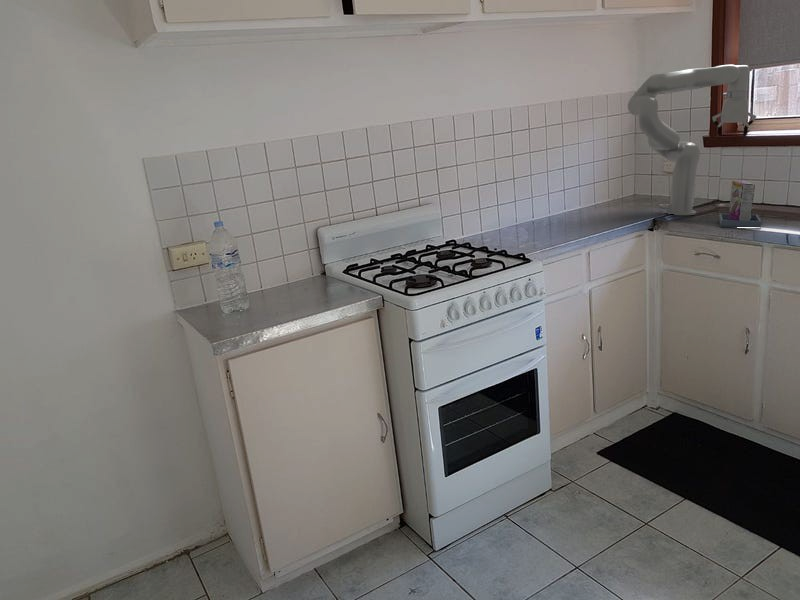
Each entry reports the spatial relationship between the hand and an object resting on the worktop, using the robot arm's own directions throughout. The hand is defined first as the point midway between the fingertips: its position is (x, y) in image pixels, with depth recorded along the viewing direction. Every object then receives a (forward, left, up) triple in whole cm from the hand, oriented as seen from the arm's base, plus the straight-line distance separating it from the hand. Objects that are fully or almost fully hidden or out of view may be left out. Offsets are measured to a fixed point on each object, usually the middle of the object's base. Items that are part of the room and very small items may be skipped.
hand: (731, 136), depth 282 cm
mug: (-18, +12, -34) cm, 40 cm away
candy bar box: (+4, -34, -33) cm, 47 cm away
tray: (+4, -34, -33) cm, 48 cm away
